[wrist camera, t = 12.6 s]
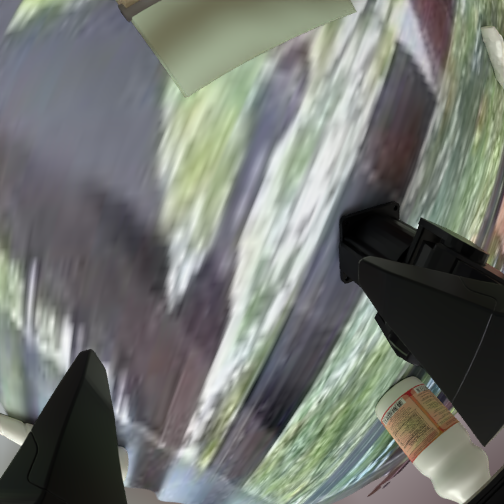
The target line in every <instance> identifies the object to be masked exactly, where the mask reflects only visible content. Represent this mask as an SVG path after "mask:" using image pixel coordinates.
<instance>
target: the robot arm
mask: <svg viewBox="0 0 504 504" xmlns="http://www.w3.org/2000/svg"><path fill="white" fill-rule="evenodd" d="M394 206H395V207H394ZM345 221H347V223H346V224H345ZM418 224H419V226H418V229H415V228H414V227H412V226H410V225H408V224H406V223H404V222H403V221H401V220H399V204H398V203H397V202H395V201H393V202H389V203H386V204H383V205H379V206H376V207H373V208H369V209H366V210H363V211H359V212H356V213H353V214H349V215H346V216H343V217H342V218H341V219H340V222H339V226H340V244H339V258H340V269H341V280H342V281H343V282H344V283H349V282H352V281H354V282H355V283H357V284H358V285H359V286H360V287H361V288H362V289H363V291H364V292H365V294H366V295H367V297H368V298H369V299H370V301H371V302H372V304H373V305H374V307H375V308H376V310H377V311H378V312H377V314H376V316H375V320H376V321H377V323H378V325H379V327H380V328H381V330H382V332H383V333H384V335H385V337H386V338H387V340H388V342H389V344H390V345H391V347H392V348H393V350H394V351H395V353H396V355H397V356H399V357H401V358H403V359H404V360H405V361H407V362H409V363H411V364H413V365H416V366H421V367H422V368H424V369H425V370H426V372H427V373H428V374H429V375H430V377H431V378H432V379H433V380H434V382H435V383H436V384H437V385H438V387H439V388H440V389H441V391H442V392H443V393H444V394H445V396H446V397H447V398H448V400H449V401H450V402H451V403H452V405H453V406H454V408H455V409H456V410H457V412H458V413H459V414H460V415H461V417H462V418H463V420H464V421H465V422H466V423H467V425H468V426H469V427H470V429H471V430H472V432H473V433H474V434H475V436H476V437H477V439H478V440H479V441H480V443H481V444H482V445H483V446H484V447H485V446H486V445H487V444H488V443H489V442H490V441H491V440H492V439H493V438H494V437H495V436H496V435H497V434H498V433H499V432H500V431H501V430H502V428H504V274H503V273H502V272H500V271H499V270H497V269H495V268H494V267H492V266H490V265H489V264H487V263H486V262H487V260H488V257H489V254H488V253H487V252H485V251H484V250H482V249H481V248H480V247H478V246H477V245H475V244H474V243H473V242H471V241H469V240H468V239H466V238H464V237H462V236H460V235H458V234H456V233H455V232H453V231H451V230H449V229H447V228H444V227H442V226H440V225H437V224H435V223H433V222H431V221H428V220H426V219H424V218H420V221H419V223H418ZM346 277H347V278H346ZM31 431H32V432H31ZM31 431H30V432H29V434H28V436H27V437H26V439H25V441H24V442H23V444H22V446H21V447H20V449H19V451H18V452H17V454H16V456H15V457H14V459H13V460H12V462H11V463H10V465H9V466H8V468H7V469H6V471H5V472H4V474H3V475H2V477H1V478H0V504H127V500H126V495H125V490H124V484H123V478H122V472H121V466H120V459H119V452H118V444H117V436H116V426H115V417H114V411H113V406H112V401H111V395H110V390H109V384H108V379H107V373H106V370H105V367H104V366H103V364H102V363H101V361H100V360H99V358H98V357H97V355H96V353H95V352H94V351H93V350H91V349H89V350H85V351H82V352H80V353H79V355H78V356H77V357H76V359H75V360H74V362H73V363H72V365H71V366H70V368H69V369H68V371H67V372H66V374H65V376H64V377H63V379H62V380H61V382H60V383H59V385H58V386H57V388H56V389H55V391H54V393H53V394H52V396H51V397H50V399H49V401H48V402H47V404H46V405H45V407H44V409H43V410H42V412H41V414H40V415H39V417H38V419H37V420H36V422H35V424H34V425H33V427H32V429H31ZM463 504H504V465H503V466H502V467H501V468H500V469H499V470H498V471H497V472H496V473H495V474H494V475H493V476H492V477H491V478H490V479H489V480H488V481H487V482H486V483H485V484H484V485H483V486H482V487H481V488H480V489H479V490H478V491H477V492H475V493H474V494H473V495H472V496H471V497H470V498H469V499H468V500H466V501H465V502H464V503H463Z"/></svg>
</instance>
